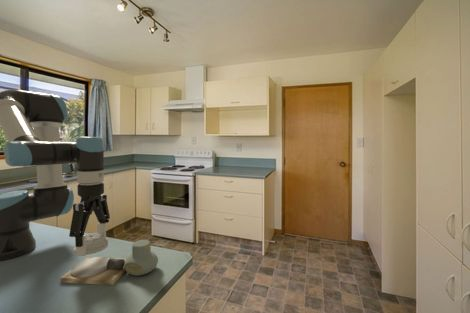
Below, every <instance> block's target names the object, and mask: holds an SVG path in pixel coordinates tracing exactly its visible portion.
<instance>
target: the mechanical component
mask: <svg viewBox="0 0 470 313" xmlns="http://www.w3.org/2000/svg"><path fill="white" fill-rule="evenodd" d="M84 235H86V256H88V255H93V254H97V253H99V252H102V251H104V250H106V249H107V248H108V247H109V240H108V239H107V238H106V239H104V234H102V233H100V232H97V231H95V232H90V233H86V234H85V233H84ZM73 254H75V255H76V245H74V246H73Z"/></svg>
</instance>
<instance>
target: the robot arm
mask: <svg viewBox="0 0 470 313" xmlns="http://www.w3.org/2000/svg"><path fill="white" fill-rule="evenodd" d="M68 114H69V113H68V107H67V104H66V102H65V100H64V99H63V98H62V97H61V96H59V95H54V94H50V93H43V92H35V91H28V90H22V89H5V90H2V91H0V128H1V129H2V131H3V134H4V136H5V138H6V139H7V142H6V143H5V144H4V146H3V147H4V149H3V156H4V157H3V158H4V159H5V160H4V161H5V164H7V166H9V167H24V168H25V167H32V166H33V167H34V166H36V176H37V179H36V180H37V184H36V185H35V186H34V187H33V192H29V191H28V190H25V189H19V190H11V191H5V192H2V193H0V261H5V260H10V259H13V258H18V257H21V256H22V255H26V254H28V253H30V252H31V251H33V250H35V248H36V246H37V244H36V243H37V241H36V239H35V237H34V235H33V233H32V231H31V227H30V222H35V221H39V220H44V219H49V218H53V217H56V218H57V217H59V216H63V215H66V214H68V213H70V212H71V210H73V211H72V212H73V213H72V219H71V224H70V227H69V228H70V229H69V235H68V236H69V237H70V238H74V239H75V245H76V254H75V255H76V256H77V257H86V256H87V255H86V235H84V234H85V233H86V229H87V227H88V226H87V225H88V222H89V220H90V216H92V213H93V214H94V215H95V216H96V219H97V223H96V232H100V233H102V234H104V239H106V240H107V231H106V230H107V227H106V226H107V225H106V224H108V223H109V222H110V219H111V217H110V211H109V207H108V201H107V197H108V196H107V194H104V193H105V184H104V180H105V179H104V178H105V174H104V168H105V167H104V165H105V164H104V158H105V157H104V153H105V152H104V151H105V147H104V139H103V138H102V137H100V136H78V137H76V141H61V140H60V139H61V138H60V128H61V127H62V126H63V125H64V124H63V123H64V122H66V121H67V120H68ZM69 164H76V182H77V196H78V197H80V202H79V203H74V200H75V194H74V191H73V189H72V188H70V187H68V183H66V182H65V181H64V180H63V166H62V165H69ZM75 245H74V246H75Z"/></svg>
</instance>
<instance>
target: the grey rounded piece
mask: <svg viewBox="0 0 470 313" xmlns="http://www.w3.org/2000/svg"><path fill="white" fill-rule="evenodd" d="M131 252H132V253H131V254H130V255H129V256H127V258H125V259H126V261H125V263H124V268H125V270H126V271H125V272H127V273H128V274H129V275H132V276H137V277H138V276H143V275H146V274H149V273H151V272H152V271H154V269H156V267H157V265H158V263H159V258H158V256H157V254H156V253H155V252H153V251H151V241H150V240H147V239H139V240H136V241H134V242H133V243H132V245H131Z"/></svg>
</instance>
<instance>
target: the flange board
mask: <svg viewBox="0 0 470 313" xmlns="http://www.w3.org/2000/svg"><path fill="white" fill-rule="evenodd" d="M126 259H127V258H119V257H115V258H114V257H107V256H87V257H86V258H85V259H83V260H81V261H79V262H77V263H76V264H75V265H73V266H72V267H71V269H70V270H68V271H67V272H66V273H65V274H64V275H62V276H61V277H60V278H59V280H60V283H68V284H85V285H88V284H89V285H103V286H104V285H106V286H113V285H115V284H116V282H117V281H118V280H119V279H120V278H121V277H122V276H123V275H124V273H126V272H127V271H126V270H125V268H124V263H125V261H126Z"/></svg>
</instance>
